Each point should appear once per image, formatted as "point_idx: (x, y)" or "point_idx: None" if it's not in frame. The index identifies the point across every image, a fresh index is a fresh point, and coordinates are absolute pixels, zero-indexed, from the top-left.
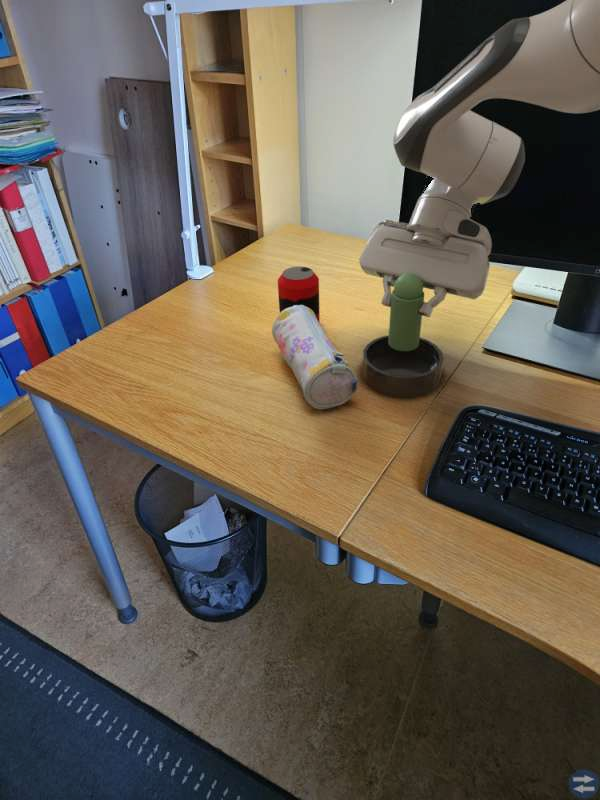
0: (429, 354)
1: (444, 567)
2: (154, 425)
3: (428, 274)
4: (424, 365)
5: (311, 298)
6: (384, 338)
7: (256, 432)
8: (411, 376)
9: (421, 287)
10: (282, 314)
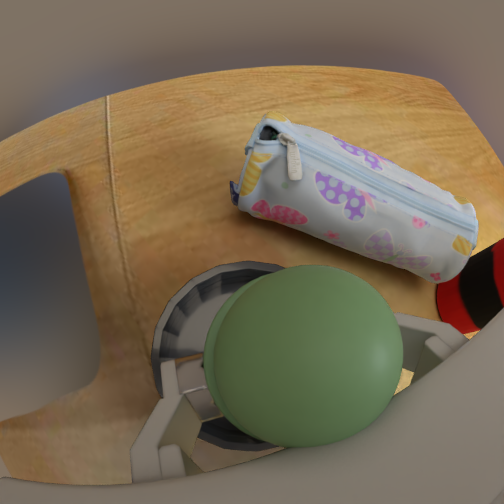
0: (237, 434)
1: (27, 137)
2: (346, 76)
3: (263, 501)
4: None
5: (492, 280)
6: None
7: (277, 108)
8: (173, 302)
9: (219, 386)
10: (463, 198)
